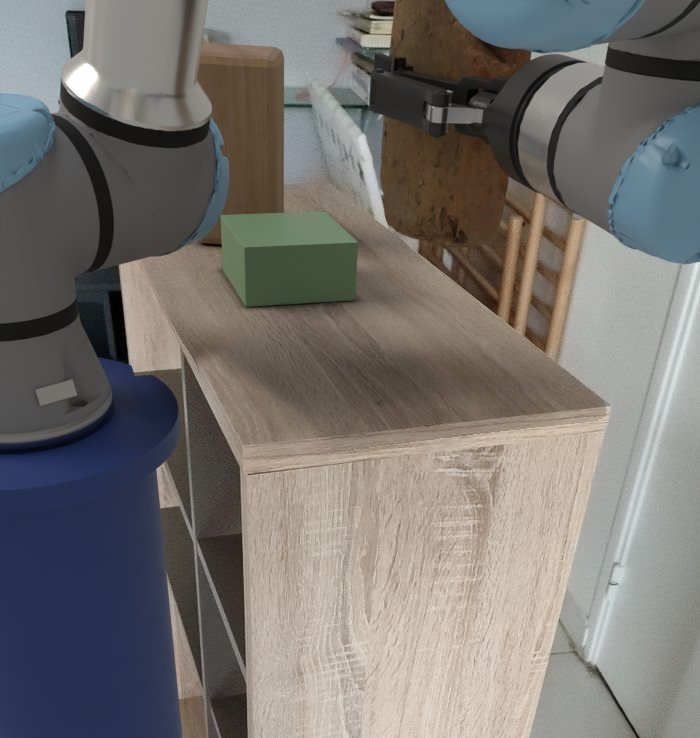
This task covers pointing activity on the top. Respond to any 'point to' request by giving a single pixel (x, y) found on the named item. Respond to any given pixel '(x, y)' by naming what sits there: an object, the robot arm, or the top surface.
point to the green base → (288, 258)
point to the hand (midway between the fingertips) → (433, 74)
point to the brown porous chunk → (448, 153)
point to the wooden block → (247, 124)
